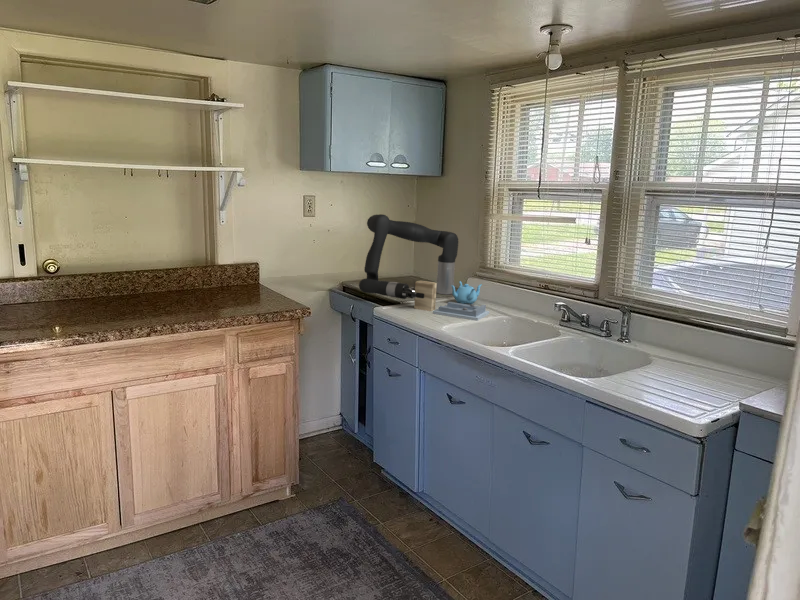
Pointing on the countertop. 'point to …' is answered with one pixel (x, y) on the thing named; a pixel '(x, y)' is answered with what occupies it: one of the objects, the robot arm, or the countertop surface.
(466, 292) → the teapot
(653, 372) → the countertop surface
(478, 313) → the grey stepped platform
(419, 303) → the wooden block
